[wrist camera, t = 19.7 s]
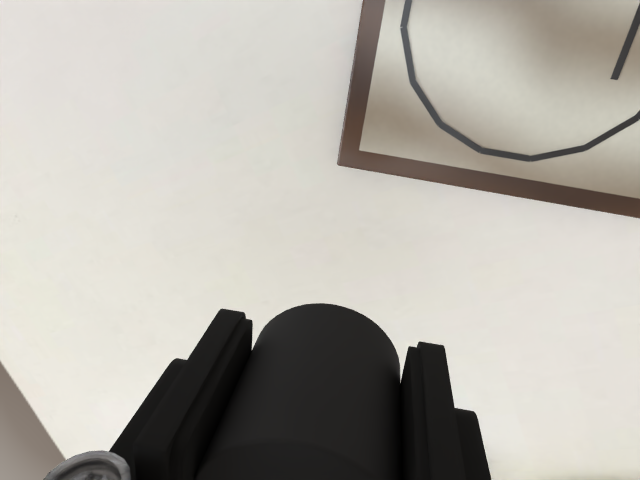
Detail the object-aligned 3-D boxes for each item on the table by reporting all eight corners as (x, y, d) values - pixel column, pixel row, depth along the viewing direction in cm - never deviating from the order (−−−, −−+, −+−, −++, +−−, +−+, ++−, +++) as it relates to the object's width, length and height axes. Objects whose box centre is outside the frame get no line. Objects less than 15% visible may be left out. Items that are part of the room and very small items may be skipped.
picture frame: (402, -241, 18) (402, -255, 17) (845, -195, 16) (870, -207, 15) (338, 161, 24) (336, 166, 23) (648, 216, 23) (659, 223, 22)
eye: (337, 274, 10) (305, 405, 6) (429, 383, 11) (448, 553, 7) (225, 347, 11) (148, 490, 8) (316, 440, 12) (283, 609, 9)
